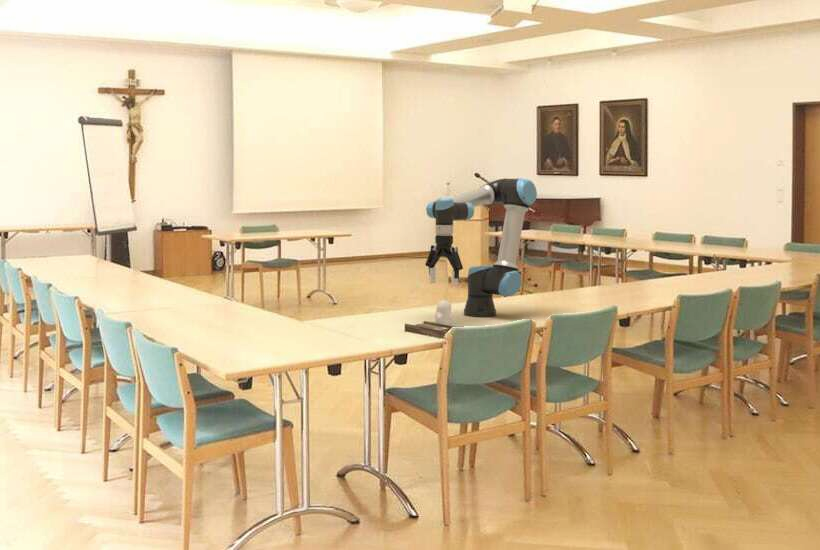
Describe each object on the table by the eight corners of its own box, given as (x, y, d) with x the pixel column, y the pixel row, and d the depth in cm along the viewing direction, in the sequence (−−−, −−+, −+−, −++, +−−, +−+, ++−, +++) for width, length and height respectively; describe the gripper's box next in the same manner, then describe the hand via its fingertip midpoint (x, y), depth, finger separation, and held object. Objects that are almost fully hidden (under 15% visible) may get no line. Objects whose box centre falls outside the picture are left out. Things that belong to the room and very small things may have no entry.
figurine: (438, 329, 379) (438, 301, 378) (432, 326, 386) (433, 298, 385) (453, 328, 381) (454, 300, 380) (448, 325, 388) (448, 298, 387)
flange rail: (424, 327, 382) (424, 319, 381) (461, 335, 366) (461, 326, 365) (404, 330, 374) (404, 322, 374) (441, 338, 358) (441, 329, 357)
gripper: (417, 233, 386) (417, 282, 388) (459, 236, 367) (458, 288, 370) (430, 232, 391) (429, 280, 393) (471, 236, 372) (470, 286, 375)
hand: (443, 284), depth 381 cm, fingers open, 13 cm apart
